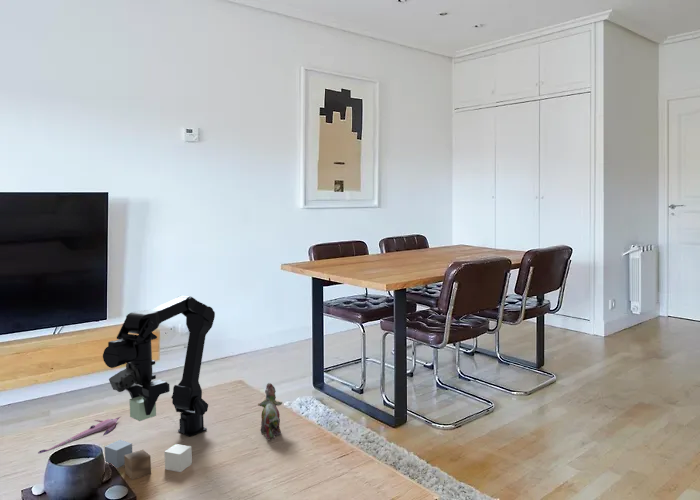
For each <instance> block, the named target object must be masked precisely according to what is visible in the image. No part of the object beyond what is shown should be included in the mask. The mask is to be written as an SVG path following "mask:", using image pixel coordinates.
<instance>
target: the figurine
mask: <svg viewBox="0 0 700 500" xmlns="http://www.w3.org/2000/svg"><path fill="white" fill-rule="evenodd" d="M264 394H265V399H264V400H263V401H261V402H259V403H257V406H258V407H262V408H263V409H262V412H261V424H260V433H261V434H266V435H265V439H266V440H271V439H276V437H275V436H280V435H281V433H282V430H281V428H280V423H281V422H280V421H281V418H280V417H281V416H280V415H281V414H280V411H279V409H278V407H279V406H281V405H282V404H283V401H277V400H276V388H275V386H274V385H273V384H272V383H271V382H268V383H267V384H266V387H265V390H264ZM277 406H278V407H277Z"/></svg>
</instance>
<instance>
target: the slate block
mask: <svg viewBox="0 0 700 500" xmlns="http://www.w3.org/2000/svg"><path fill="white" fill-rule="evenodd" d="M130 453H133V443H132V442H128V441H125V440H123V439H118V440H116V441H113V442H112V443H109V444H108V445H105V446H104V462H105V461H106V462H108V463H112V464H113V465H114V466H115V467H114V468H116V467H117V469H118V468H121V467H122V466H125V461H124V455H127V454H130Z"/></svg>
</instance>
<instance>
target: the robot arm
mask: <svg viewBox="0 0 700 500" xmlns="http://www.w3.org/2000/svg"><path fill="white" fill-rule="evenodd" d="M178 315H183V316H184V317H186V318H185V325H186V328H187V330H188V333H189V335H188V340H187V347H186V353H185V359H184V365H183V370H182V378H181V380H180V382H178V384H174V386H173V388H172V390H173V391H172V395H171V397H170V398H171V399H172V402H171V403H172V405H173V406H174V408H175V411H176V413H180V415H179V416H180V418H179V428H178V429H177V432H179V433H182V434H183V435H185V436H188V437H192V436H194V435H197V434H200V433H202V432H206V431H207V430H208V428H207V427H205V425H204V415H205V414H206V413H207V412H208V410H209V408H208V407H209V403H207V402H206V401H205V400H204V399H203V397H202V396H203V389H202V387H201V384H200V382H199V379H200V374H201V373H200V372H201V368H202V361H203V356H204V355H203V354H204V348H205V341H206V336H207V335H208V332H210V330H211V329H212V327H213V325H214V322H215V321H214V320H215V317H216V312H215V311H214V308H213V307H211V306H208V305H206V304H205V303H203V302H201V301H198V300H197V299H196V298H194V297H193V296H189V295H180V296H177V297H176V298H174V299H172V300H170V301H168V302H165V303H162V304H160V305H158V306H156V307H154V308H152V309H145V310H137V311H133V312H129V313H127V314H126V315H125V320H124V321H123V323H122V325H121V327H120V330H119V332H118V334H117V336H116V340H111V341H108V342H107V346H106V347H105V348H104V350H103V353H102V359H103V362H104V363H105V365H106V366H107V367H108V368H110V369H115V368H117V367H120V366H123V365H125V368H124V369H123V370H120V371H119V372H117V373H115V374H114V375H112V376H111V377H109V378H108V381H109V383H110V385H111V388H112V390H114V391H116V392H118V393H122V392H124V391H127V392H128V393H129V396H130V399H132V398H136V397H139V396H141V397H142V398H143V400H144V406H145V412H146V415H150V414H151V412H152V410H153V407H154V405H155V403H156V404H157V401H158V399H159V397H160V395H163V394H166V393H167V394H168V393H169V392H170V383H168V382H167V381H165V380H162V379H157V376H156V374H155V373H154V372H153V366H155V365H156V360H154V359H153V351H152V341H153V340H156V339H158V336H157V334H154V331H155V330H157V329H158V328H159V326H160V324H162V323H163V322H165V321H167V320H171V318H174V317H175V316H178ZM153 373H154V374H153ZM156 379H157V380H156Z"/></svg>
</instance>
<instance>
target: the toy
mask: <svg viewBox="0 0 700 500" xmlns="http://www.w3.org/2000/svg"><path fill="white" fill-rule="evenodd" d="M120 418H121V416H119V417H115V418H107V419H105V420H99V419H97V420H96V419H95V420H94V422H98V423H97V424H95V425H93V424H92V425H91V426H89V428H88V429H86V430H84V431H81V432H80V433H77V434H76V435H74V436H72V437H70V438H67V439H66V440H64V441H62V442H60V443H57V444H56V445H54V446H52V447H50V448H49V449H42V450H39V451H38V452H37V454H42V453H45V452H49V451H51V450H53V449H57V448H58V447H61V446H64V445H66V444H69V443H71V442H74V441H76V440H79V439H81V438H84V437H87V436H90V435H92V434H95V433H98V432H102V431H104V433H103V435H102V436H105V435H108V434H110V433H111V432H112V431H113V430H114V429H115V428H116V426H117V423H118V421H119V420H120ZM105 430H106V431H105Z"/></svg>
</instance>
